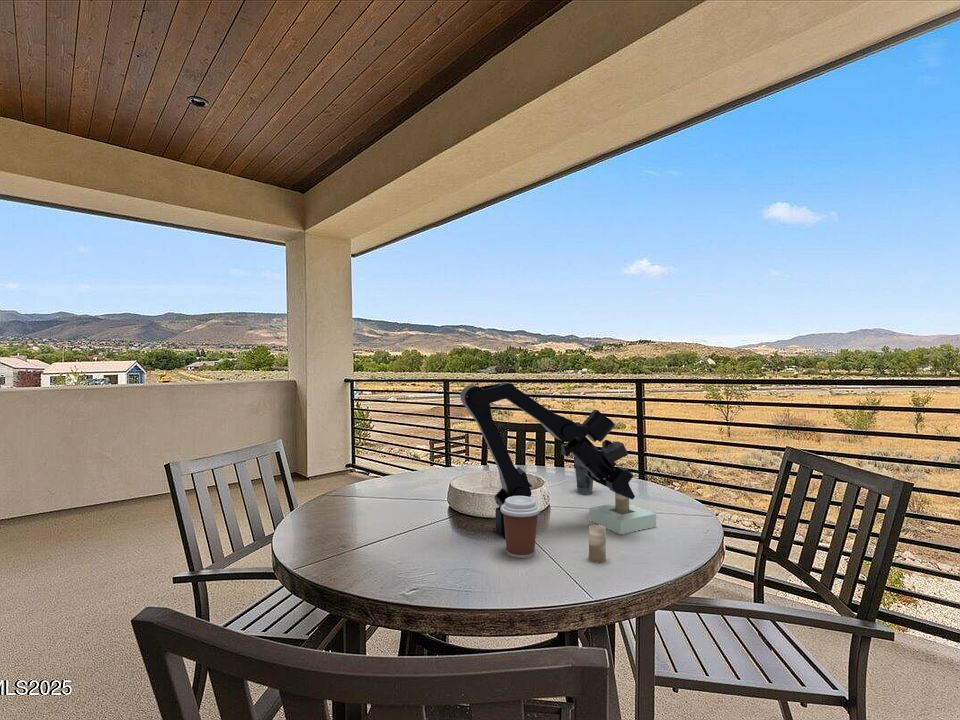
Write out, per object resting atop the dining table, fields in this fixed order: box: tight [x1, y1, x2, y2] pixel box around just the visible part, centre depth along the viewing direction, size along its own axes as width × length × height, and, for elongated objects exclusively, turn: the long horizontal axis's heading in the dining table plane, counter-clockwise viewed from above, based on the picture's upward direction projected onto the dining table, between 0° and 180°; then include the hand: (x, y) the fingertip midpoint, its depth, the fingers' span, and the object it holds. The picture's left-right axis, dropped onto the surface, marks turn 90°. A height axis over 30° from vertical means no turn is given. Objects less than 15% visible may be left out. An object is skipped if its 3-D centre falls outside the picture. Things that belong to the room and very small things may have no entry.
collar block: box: [589, 502, 657, 535], centre depth 132 cm, size 12×12×4 cm
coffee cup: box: [500, 496, 541, 559], centre depth 113 cm, size 9×9×12 cm
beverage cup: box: [573, 455, 594, 496], centre depth 161 cm, size 7×7×20 cm
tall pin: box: [614, 481, 630, 515], centre depth 132 cm, size 4×4×14 cm
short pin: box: [588, 524, 607, 564], centre depth 109 cm, size 4×4×7 cm
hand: (626, 494), depth 132 cm, fingers open, 7 cm apart
